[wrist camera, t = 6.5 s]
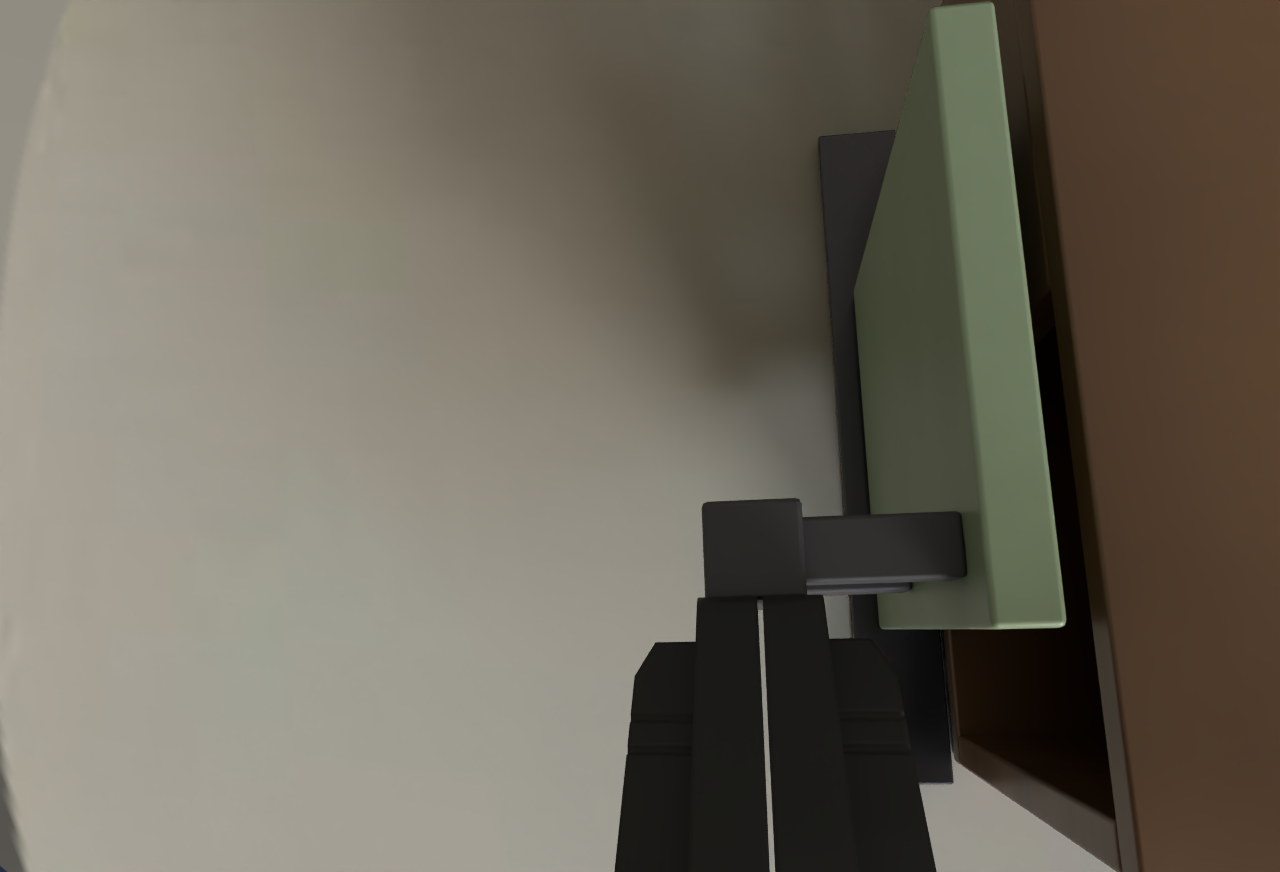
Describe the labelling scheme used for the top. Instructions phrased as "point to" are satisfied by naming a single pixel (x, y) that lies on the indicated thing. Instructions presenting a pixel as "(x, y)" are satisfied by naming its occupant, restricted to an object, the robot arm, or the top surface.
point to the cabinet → (1122, 435)
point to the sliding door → (931, 384)
